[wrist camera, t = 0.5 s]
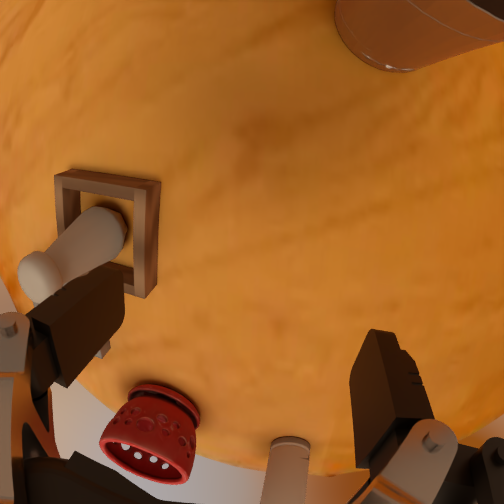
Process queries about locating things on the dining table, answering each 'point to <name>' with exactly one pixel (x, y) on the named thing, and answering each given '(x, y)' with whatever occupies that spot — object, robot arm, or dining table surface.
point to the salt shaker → (73, 253)
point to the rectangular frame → (145, 219)
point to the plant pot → (153, 434)
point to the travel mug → (286, 472)
